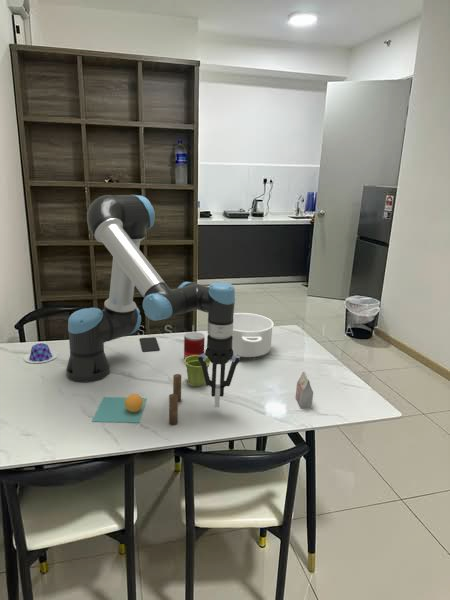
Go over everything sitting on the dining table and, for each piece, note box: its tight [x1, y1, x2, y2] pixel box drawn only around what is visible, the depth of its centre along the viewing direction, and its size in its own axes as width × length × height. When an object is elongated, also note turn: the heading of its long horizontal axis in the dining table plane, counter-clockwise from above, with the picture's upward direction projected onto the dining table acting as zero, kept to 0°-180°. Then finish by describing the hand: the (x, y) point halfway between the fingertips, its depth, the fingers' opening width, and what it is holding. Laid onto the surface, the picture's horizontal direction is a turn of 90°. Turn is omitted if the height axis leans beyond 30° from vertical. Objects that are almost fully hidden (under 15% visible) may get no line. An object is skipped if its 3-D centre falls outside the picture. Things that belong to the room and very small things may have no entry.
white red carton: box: [295, 371, 314, 410], centre depth 137 cm, size 4×7×10 cm, turn 4°
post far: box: [172, 373, 182, 404], centre depth 135 cm, size 3×3×9 cm
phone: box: [139, 336, 161, 353], centre depth 179 cm, size 7×1×15 cm
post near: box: [168, 393, 179, 426], centre depth 122 cm, size 3×3×9 cm
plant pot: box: [183, 355, 212, 387], centre depth 147 cm, size 9×9×9 cm
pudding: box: [23, 342, 58, 364], centre depth 162 cm, size 12×12×5 cm
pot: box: [232, 312, 275, 360], centre depth 175 cm, size 33×23×14 cm
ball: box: [125, 393, 143, 412], centre depth 128 cm, size 6×6×6 cm
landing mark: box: [91, 396, 147, 424], centre depth 129 cm, size 14×14×1 cm
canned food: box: [183, 331, 206, 361], centre depth 164 cm, size 8×8×11 cm
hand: (216, 404), depth 130 cm, fingers closed
